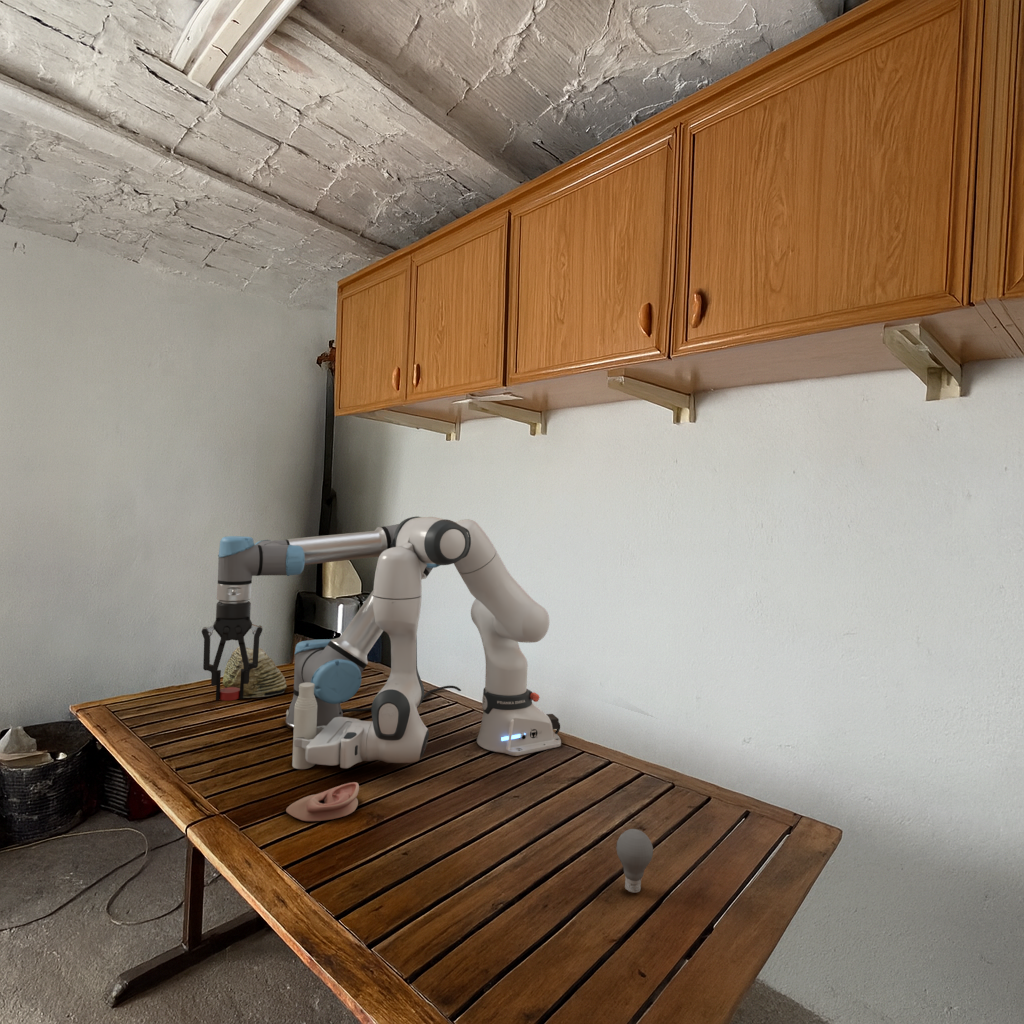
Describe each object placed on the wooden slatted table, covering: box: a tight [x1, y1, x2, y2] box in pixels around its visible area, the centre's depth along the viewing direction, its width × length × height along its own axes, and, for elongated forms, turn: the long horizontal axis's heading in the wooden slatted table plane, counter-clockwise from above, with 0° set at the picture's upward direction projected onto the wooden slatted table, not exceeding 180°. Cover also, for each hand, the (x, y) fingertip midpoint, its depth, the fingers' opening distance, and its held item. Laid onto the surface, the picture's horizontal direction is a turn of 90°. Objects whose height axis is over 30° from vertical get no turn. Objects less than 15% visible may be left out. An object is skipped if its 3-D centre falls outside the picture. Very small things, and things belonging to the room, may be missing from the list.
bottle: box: [291, 682, 317, 770], centre depth 149 cm, size 5×5×19 cm
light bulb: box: [615, 828, 654, 894], centre depth 106 cm, size 6×6×10 cm
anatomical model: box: [285, 781, 360, 822], centre depth 129 cm, size 13×4×12 cm
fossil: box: [222, 646, 288, 699], centre depth 198 cm, size 9×18×15 cm, turn 132°
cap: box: [219, 687, 240, 702], centre depth 152 cm, size 5×5×2 cm
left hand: (229, 697), depth 152 cm, fingers closed on cap, 4 cm apart
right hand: (301, 736), depth 149 cm, fingers closed on bottle, 5 cm apart
